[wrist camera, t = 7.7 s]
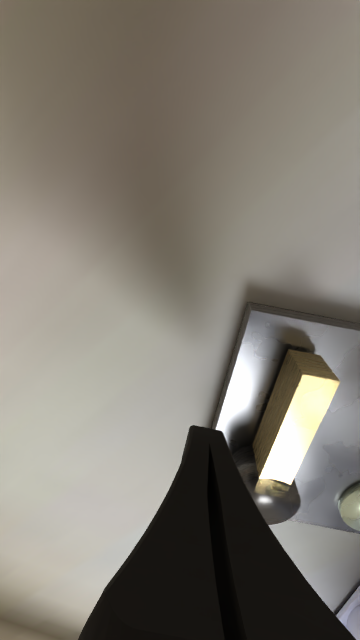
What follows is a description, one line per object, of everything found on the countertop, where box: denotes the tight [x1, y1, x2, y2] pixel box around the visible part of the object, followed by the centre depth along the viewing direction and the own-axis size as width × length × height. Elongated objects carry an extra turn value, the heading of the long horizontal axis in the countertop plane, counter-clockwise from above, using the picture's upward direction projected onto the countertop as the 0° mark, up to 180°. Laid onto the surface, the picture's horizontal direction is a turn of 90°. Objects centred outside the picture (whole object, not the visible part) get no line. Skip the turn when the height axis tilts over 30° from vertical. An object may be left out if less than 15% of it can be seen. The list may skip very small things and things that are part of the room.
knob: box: [232, 349, 340, 525], centre depth 15 cm, size 10×4×2 cm, turn 170°
